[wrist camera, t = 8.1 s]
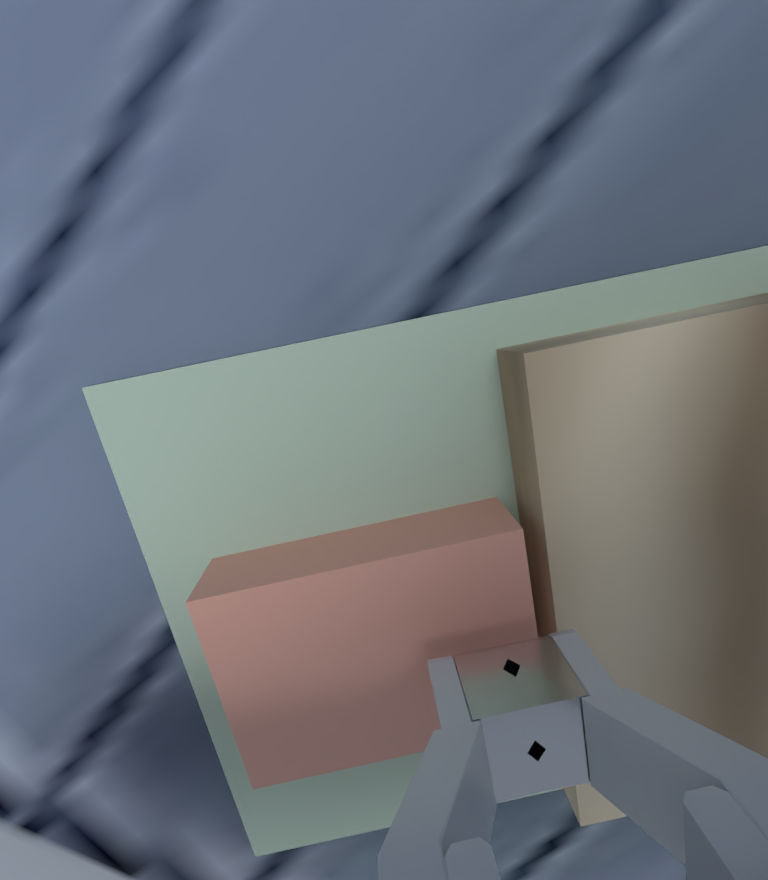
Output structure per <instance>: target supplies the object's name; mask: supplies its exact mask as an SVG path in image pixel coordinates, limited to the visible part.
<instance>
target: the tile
mask: <svg viewBox="0 0 768 880" xmlns="http://www.w3.org/2000/svg"><path fill="white" fill-rule="evenodd" d="M185 603H186V605H187V608H188V611H189V614H190V616H191V619H192V622H193V625H194V628H195V630H196V633H197V636H198V639H199V641H200V644H201V647H202V650H203V653H204V655H205V658H206V661H207V664H208V666H209V669H210V672H211V675H212V677H213V680H214V683H215V686H216V689H217V691H218V694H219V697H220V700H221V702H222V705H223V708H224V711H225V714H226V716H227V719H228V722H229V725H230V727H231V730H232V733H233V736H234V739H235V741H236V744H237V747H238V750H239V752H240V755H241V758H242V761H243V763H244V766H245V769H246V772H247V775H248V777H249V780H250V783H251V786H252V788H253V789H258V788H262V787H267V786H271V785H276V784H280V783H285V782H289V781H294V780H298V779H303V778H307V777H312V776H316V775H321V774H325V773H330V772H334V771H339V770H343V769H347V768H352V767H356V766H361V765H365V764H370V763H374V762H379V761H383V760H388V759H392V758H397V757H401V756H406V755H410V754H415V753H419V752H424V751H425V749H426V746H427V744H428V742H429V740H430V737H431V735H432V733H433V731H434V730H438V729H441V727H440V723H439V718H438V713H437V708H436V703H435V699H434V694H433V689H432V684H431V679H430V675H429V670H428V663H427V660H430V659H435V658H440V657H445V656H450V655H451V656H452V655H453V654H459V653H464V652H469V651H474V650H479V649H485V648H490V647H495V646H500V645H505V644H509V643H514V642H518V641H523V640H527V639H532V638H536V637H538V633H537V625H536V618H535V611H534V604H533V597H532V589H531V582H530V575H529V568H528V561H527V553H526V546H525V539H524V532H523V528H522V527H521V526H520V525H519V523H518V522H517V521H516V520H515V519H514V517H513V516H512V515H511V514H510V513H509V511H508V510H507V509H506V508H505V506H504V505H503V504H502V503H501V502H500V500H499V499H498V498H497V497H494V498H489V499H484V500H480V501H475V502H470V503H466V504H461V505H457V506H452V507H447V508H443V509H438V510H434V511H429V512H424V513H420V514H415V515H411V516H406V517H401V518H397V519H392V520H387V521H383V522H378V523H374V524H369V525H364V526H360V527H355V528H351V529H346V530H341V531H337V532H332V533H328V534H323V535H318V536H314V537H309V538H304V539H300V540H295V541H291V542H286V543H281V544H277V545H272V546H268V547H263V548H258V549H254V550H249V551H245V552H240V553H235V554H231V555H226V556H221V557H217V558H212V560H211V561H210V563H209V565H208V566H207V568H206V570H205V571H204V573H203V574H202V576H201V578H200V579H199V581H198V583H197V584H196V586H195V588H194V589H193V591H192V593H191V594H190V596H189V597H188V599H187V601H186V602H185Z"/></svg>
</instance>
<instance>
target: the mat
mask: <svg viewBox="0 0 768 880" xmlns="http://www.w3.org/2000/svg"><path fill="white" fill-rule="evenodd" d="M763 293H768V246H763V247H758V248H753V249H748V250H743V251H739V252H734V253H729V254H724V255H719V256H715V257H710V258H705V259H700V260H695V261H690V262H686V263H681V264H676V265H671V266H666V267H662V268H657V269H652V270H647V271H642V272H637V273H633V274H628V275H623V276H618V277H613V278H609V279H604V280H599V281H594V282H589V283H584V284H580V285H575V286H570V287H565V288H560V289H556V290H551V291H546V292H541V293H536V294H531V295H527V296H522V297H517V298H512V299H507V300H503V301H498V302H493V303H488V304H483V305H478V306H474V307H469V308H464V309H459V310H454V311H450V312H445V313H440V314H435V315H430V316H425V317H421V318H416V319H411V320H406V321H401V322H396V323H392V324H387V325H382V326H377V327H372V328H368V329H363V330H358V331H353V332H348V333H343V334H339V335H334V336H329V337H324V338H319V339H315V340H310V341H305V342H300V343H295V344H290V345H286V346H281V347H276V348H271V349H266V350H262V351H257V352H252V353H247V354H242V355H237V356H233V357H228V358H223V359H218V360H213V361H209V362H204V363H199V364H194V365H189V366H184V367H180V368H175V369H170V370H165V371H160V372H156V373H151V374H146V375H141V376H136V377H131V378H127V379H122V380H117V381H112V382H107V383H103V384H98V385H93V386H88V387H84V388H82V390H83V393H84V396H85V399H86V401H87V404H88V407H89V409H90V412H91V415H92V417H93V420H94V423H95V426H96V428H97V431H98V434H99V436H100V439H101V442H102V444H103V447H104V450H105V453H106V455H107V458H108V461H109V463H110V466H111V469H112V471H113V474H114V477H115V480H116V482H117V485H118V488H119V490H120V493H121V496H122V498H123V501H124V504H125V507H126V509H127V512H128V515H129V517H130V520H131V523H132V525H133V528H134V531H135V533H136V536H137V539H138V542H139V544H140V547H141V550H142V552H143V555H144V558H145V560H146V563H147V566H148V569H149V571H150V574H151V577H152V579H153V582H154V585H155V587H156V590H157V593H158V596H159V598H160V601H161V604H162V606H163V609H164V612H165V614H166V617H167V620H168V623H169V625H170V628H171V631H172V633H173V636H174V639H175V641H176V644H177V647H178V650H179V652H180V655H181V658H182V660H183V663H184V666H185V668H186V671H187V674H188V676H189V679H190V682H191V685H192V687H193V690H194V693H195V695H196V698H197V701H198V703H199V706H200V709H201V712H202V714H203V717H204V720H205V722H206V725H207V728H208V730H209V733H210V736H211V739H212V741H213V744H214V747H215V749H216V752H217V755H218V757H219V760H220V763H221V766H222V768H223V771H224V774H225V776H226V779H227V782H228V784H229V787H230V790H231V793H232V795H233V798H234V801H235V803H236V806H237V809H238V811H239V814H240V817H241V819H242V822H243V825H244V828H245V830H246V833H247V836H248V838H249V841H250V844H251V846H252V849H253V852H254V855H255V857H257V856H262V855H266V854H271V853H275V852H280V851H284V850H289V849H293V848H298V847H303V846H307V845H312V844H316V843H321V842H325V841H330V840H334V839H339V838H343V837H348V836H352V835H357V834H361V833H366V832H370V831H375V830H380V829H384V828H389V827H391V824H392V822H393V820H394V818H395V815H396V813H397V811H398V809H399V807H400V804H401V802H402V800H403V798H404V795H405V793H406V791H407V789H408V786H409V784H410V782H411V780H412V778H413V775H414V773H415V771H416V769H417V766H418V764H419V762H420V760H421V758H422V755H423V753H424V752H419V753H415V754H410V755H406V756H401V757H397V758H392V759H388V760H383V761H379V762H374V763H370V764H365V765H361V766H356V767H352V768H347V769H343V770H339V771H334V772H330V773H325V774H321V775H316V776H312V777H307V778H303V779H298V780H294V781H289V782H285V783H280V784H276V785H271V786H267V787H262V788H258V789H253V788H252V786H251V783H250V780H249V777H248V775H247V772H246V769H245V766H244V763H243V761H242V758H241V755H240V752H239V750H238V747H237V744H236V741H235V739H234V736H233V733H232V730H231V727H230V725H229V722H228V719H227V716H226V714H225V711H224V708H223V705H222V702H221V700H220V697H219V694H218V691H217V689H216V686H215V683H214V680H213V677H212V675H211V672H210V669H209V666H208V664H207V661H206V658H205V655H204V653H203V650H202V647H201V644H200V641H199V639H198V636H197V633H196V630H195V628H194V625H193V622H192V619H191V616H190V614H189V611H188V608H187V605H186V603H185V602H186V601H187V599H188V597H189V596H190V594H191V593H192V591H193V589H194V588H195V586H196V584H197V583H198V581H199V579H200V578H201V576H202V574H203V573H204V571H205V570H206V568H207V566H208V565H209V563H210V561H211V560H212V558H217V557H221V556H226V555H231V554H235V553H240V552H245V551H249V550H254V549H258V548H263V547H268V546H272V545H277V544H281V543H286V542H291V541H295V540H300V539H304V538H309V537H314V536H318V535H323V534H328V533H332V532H337V531H341V530H346V529H351V528H355V527H360V526H364V525H369V524H374V523H378V522H383V521H387V520H392V519H397V518H401V517H406V516H411V515H415V514H420V513H424V512H429V511H434V510H438V509H443V508H447V507H452V506H457V505H461V504H466V503H470V502H475V501H480V500H484V499H489V498H494V497H497V498H498V499H499V500H500V502H501V503H502V504H503V505H504V506H505V508H506V509H507V510H508V511H509V513H510V514H511V515H512V516H513V517H514V519H515V520H516V521H517V522H518V523H519V525H520V521H519V513H518V506H517V498H516V491H515V484H514V476H513V469H512V462H511V454H510V447H509V439H508V432H507V425H506V417H505V410H504V402H503V395H502V388H501V380H500V373H499V366H498V358H497V351H496V349H499V348H504V347H509V346H514V345H519V344H523V343H528V342H533V341H538V340H543V339H547V338H552V337H557V336H562V335H567V334H571V333H576V332H581V331H586V330H591V329H595V328H600V327H605V326H610V325H614V324H619V323H624V322H629V321H634V320H638V319H643V318H648V317H653V316H658V315H662V314H667V313H672V312H677V311H682V310H686V309H691V308H696V307H701V306H705V305H710V304H715V303H720V302H725V301H729V300H734V299H739V298H744V297H749V296H753V295H758V294H763ZM561 789H563V788H559V789H554V790H549V791H542V792H539V793H535V794H531V795H527V796H523V797H520V798H524V797H529V796H534V795H538V794H543V793H547V792H552V791H556V790H561ZM520 798H516V799H520ZM512 800H515V799H512ZM508 801H511V800H508ZM504 802H506V801H504ZM500 803H502V802H500ZM496 804H497V803H496Z"/></svg>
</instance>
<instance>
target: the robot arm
mask: <svg viewBox="0 0 768 880" xmlns="http://www.w3.org/2000/svg"><path fill="white" fill-rule="evenodd" d="M427 663H428V670H429V675H430V679H431V684H432V689H433V694H434V699H435V703H436V708H437V713H438V718H439V723H440V727H441V729H438V730H434V731H433V733H432V735H431V737H430V740H429V742H428V744H427V746H426V749H425V751H424V753H423V755H422V758H421V760H420V762H419V764H418V766H417V769H416V771H415V773H414V775H413V778H412V780H411V782H410V784H409V786H408V789H407V791H406V793H405V795H404V798H403V800H402V802H401V804H400V807H399V809H398V811H397V813H396V815H395V818H394V820H393V822H392V824H391V827H390V829H389V831H388V833H387V835H386V838H385V840H384V842H383V844H382V847H381V849H380V851H379V853H378V856H377V869H378V880H501V878H500V875H499V871H498V867H497V864H496V860H495V857H494V853H493V849H492V846H491V844H490V839H491V834H492V829H493V825H494V820H495V815H496V810H497V804H496V803H500V802H504V801H508V800H512V799H516V798H520V797H523V796H527V795H531V794H535V793H539V792H542V791H549V790H554V789H559V788H565V787H570V786H575V785H581V784H586V783H591V786H592V787H593V788H594V789H596V790H597V791H598V792H599V793H600V794H602V795H603V796H604V797H605V798H606V799H607V800H609V801H610V802H611V803H612V804H613V805H614V806H616V807H617V808H618V809H619V810H620V811H621V812H623V813H624V814H625V815H626V816H627V817H628V818H630V819H631V820H632V821H633V822H634V823H635V824H637V825H638V826H639V827H640V828H641V829H643V830H644V831H645V832H646V833H647V834H648V835H650V836H651V837H652V838H653V839H654V840H655V841H657V842H658V843H659V844H660V845H661V846H662V847H664V848H665V849H666V850H667V851H668V852H669V853H671V854H672V855H673V856H674V857H675V858H676V859H678V860H679V861H680V862H681V863H682V864H684V865H685V866H686V880H768V758H766V757H764V756H762V755H760V754H758V753H756V752H754V751H752V750H750V749H748V748H746V747H744V746H742V745H740V744H738V743H736V742H734V741H732V740H730V739H728V738H726V737H724V736H722V735H720V734H718V733H716V732H714V731H712V730H710V729H708V728H706V727H704V726H702V725H700V724H698V723H696V722H694V721H692V720H690V719H688V718H686V717H684V716H683V715H681V714H679V713H677V712H675V711H673V710H671V709H669V708H667V707H665V706H663V705H661V704H659V703H657V702H655V701H653V700H651V699H649V698H647V697H645V696H643V695H641V694H639V693H637V692H635V691H633V690H631V689H629V688H625V689H619V688H618V686H617V685H616V684H615V682H614V681H613V679H612V678H611V677H610V675H609V674H608V673H607V671H606V670H605V669H604V667H603V666H602V665H601V663H600V662H599V661H598V659H597V658H596V657H595V655H594V654H593V652H592V651H591V650H590V648H589V647H588V646H587V644H586V643H585V642H584V640H583V639H582V638H581V636H580V635H579V634H578V632H577V631H576V630H574V629H568V630H564V631H559V632H555V633H551V634H548V635H545V636H541V637H536V638H532V639H527V640H523V641H518V642H514V643H509V644H505V645H500V646H495V647H490V648H485V649H479V650H474V651H469V652H464V653H459V654H453V655H452V656H451V655H450V656H445V657H440V658H435V659H430V660H427Z"/></svg>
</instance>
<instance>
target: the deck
mask: <svg viewBox="0 0 768 880" xmlns="http://www.w3.org/2000/svg"><path fill="white" fill-rule="evenodd" d="M496 351H497V358H498V366H499V373H500V380H501V388H502V395H503V402H504V410H505V417H506V425H507V432H508V439H509V447H510V454H511V462H512V469H513V476H514V484H515V491H516V498H517V506H518V513H519V521H520V526H521V527H522V528H523V532H524V539H525V546H526V553H527V561H528V568H529V575H530V582H531V589H532V597H533V604H534V611H535V618H536V625H537V633H538V637H541V636H545V635H548V634H551V633H555V632H559V631H564V630H568V629H574V630H576V631H577V632H578V634H579V635H580V636H581V638H582V639H583V640H584V642H585V643H586V644H587V646H588V647H589V648H590V650H591V651H592V652H593V654H594V655H595V657H596V658H597V659H598V661H599V662H600V663H601V665H602V666H603V667H604V669H605V670H606V671H607V673H608V674H609V675H610V677H611V678H612V679H613V681H614V682H615V684H616V685H617V686H618V688H619V689H625V688H629V689H631V690H633V691H635V692H637V693H639V694H641V695H643V696H645V697H647V698H649V699H651V700H653V701H655V702H657V703H659V704H661V705H663V706H665V707H667V708H669V709H671V710H673V711H675V712H677V713H679V714H681V715H683V716H684V717H686V718H688V719H690V720H692V721H694V722H696V723H698V724H700V725H702V726H704V727H706V728H708V729H710V730H712V731H714V732H716V733H718V734H720V735H722V736H724V737H726V738H728V739H730V740H732V741H734V742H736V743H738V744H740V745H742V746H744V747H746V748H748V749H750V750H752V751H754V752H756V753H758V754H760V755H762V756H764V757H766V758H768V293H763V294H758V295H753V296H749V297H744V298H739V299H734V300H729V301H725V302H720V303H715V304H710V305H705V306H701V307H696V308H691V309H686V310H682V311H677V312H672V313H667V314H662V315H658V316H653V317H648V318H643V319H638V320H634V321H629V322H624V323H619V324H614V325H610V326H605V327H600V328H595V329H591V330H586V331H581V332H576V333H571V334H567V335H562V336H557V337H552V338H547V339H543V340H538V341H533V342H528V343H523V344H519V345H514V346H509V347H504V348H499V349H496ZM563 789H564V791H565V793H566V795H567V797H568V800H569V802H570V804H571V806H572V809H573V811H574V813H575V815H576V817H577V820H578V822H579V824H580V826H581V827H582V826H587V825H591V824H596V823H600V822H605V821H609V820H614V819H618V818H623V817H627V816H626V815H625V814H624V813H623V812H621V811H620V810H619V809H618V808H617V807H616V806H614V805H613V804H612V803H611V802H610V801H609V800H607V799H606V798H605V797H604V796H603V795H602V794H600V793H599V792H598V791H597V790H596V789H594V788H593V787H592V786H591V783H586V784H581V785H575V786H570V787H565V788H563Z"/></svg>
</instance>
